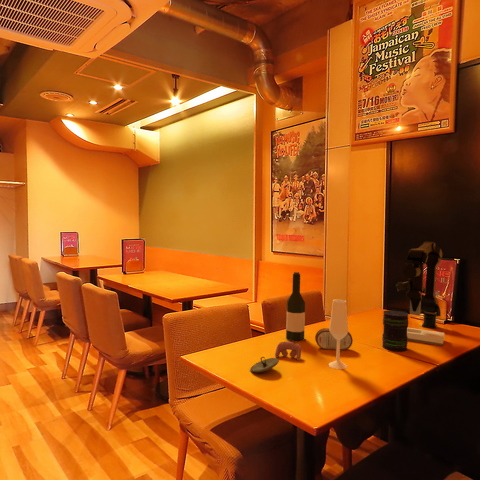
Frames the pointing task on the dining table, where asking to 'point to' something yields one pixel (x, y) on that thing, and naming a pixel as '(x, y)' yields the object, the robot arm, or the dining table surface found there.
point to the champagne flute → (338, 328)
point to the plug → (416, 310)
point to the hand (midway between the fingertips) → (415, 310)
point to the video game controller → (286, 346)
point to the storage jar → (395, 330)
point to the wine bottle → (295, 312)
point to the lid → (264, 365)
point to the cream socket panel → (425, 336)
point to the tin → (332, 340)
